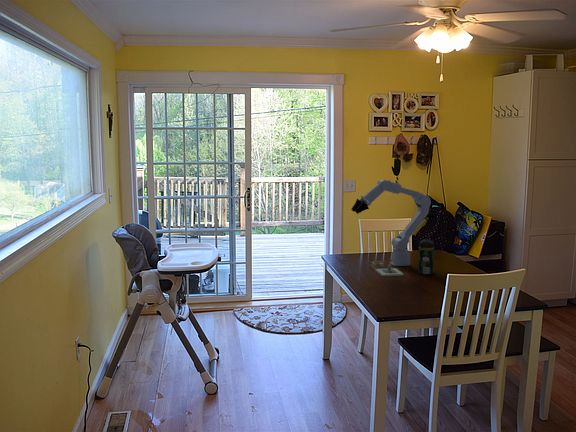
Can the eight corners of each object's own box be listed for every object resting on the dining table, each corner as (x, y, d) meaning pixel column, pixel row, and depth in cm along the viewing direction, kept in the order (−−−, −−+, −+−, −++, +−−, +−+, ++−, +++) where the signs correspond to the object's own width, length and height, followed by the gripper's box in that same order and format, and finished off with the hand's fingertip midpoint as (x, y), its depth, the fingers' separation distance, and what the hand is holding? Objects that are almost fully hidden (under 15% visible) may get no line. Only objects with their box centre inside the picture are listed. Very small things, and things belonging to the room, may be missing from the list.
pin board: (395, 270, 288) (396, 261, 288) (403, 275, 277) (404, 266, 276) (375, 270, 287) (375, 262, 286) (382, 276, 275) (382, 267, 274)
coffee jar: (418, 270, 288) (420, 237, 286) (433, 271, 286) (435, 238, 283) (416, 274, 279) (418, 241, 277) (432, 275, 277) (433, 242, 274)
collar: (380, 266, 296) (380, 261, 295) (382, 268, 291) (383, 263, 290) (371, 266, 295) (371, 261, 295) (374, 269, 290) (374, 264, 290)
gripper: (363, 189, 298) (346, 204, 298) (371, 192, 284) (353, 208, 284) (371, 197, 300) (353, 213, 300) (379, 201, 286) (361, 217, 286)
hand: (354, 211), depth 292 cm, fingers open, 7 cm apart
